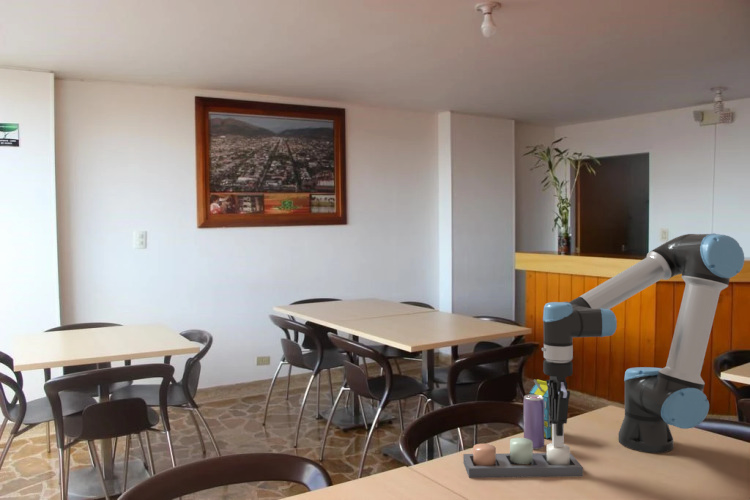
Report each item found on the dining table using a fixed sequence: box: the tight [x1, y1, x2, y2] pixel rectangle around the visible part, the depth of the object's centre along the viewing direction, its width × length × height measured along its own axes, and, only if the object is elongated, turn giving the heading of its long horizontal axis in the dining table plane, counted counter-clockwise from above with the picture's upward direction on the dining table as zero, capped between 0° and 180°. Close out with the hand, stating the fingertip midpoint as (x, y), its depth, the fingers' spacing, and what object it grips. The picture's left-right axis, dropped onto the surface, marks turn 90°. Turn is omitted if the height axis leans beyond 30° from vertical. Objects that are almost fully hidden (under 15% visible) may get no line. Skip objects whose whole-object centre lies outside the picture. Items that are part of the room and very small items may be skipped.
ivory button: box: [546, 442, 571, 465], centre depth 159 cm, size 6×6×5 cm
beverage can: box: [523, 394, 545, 450], centre depth 176 cm, size 6×6×15 cm
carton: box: [528, 379, 552, 441], centre depth 186 cm, size 7×8×18 cm
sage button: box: [509, 437, 534, 465], centre depth 159 cm, size 6×6×5 cm
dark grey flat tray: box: [462, 452, 584, 479], centre depth 159 cm, size 30×10×2 cm, turn 90°
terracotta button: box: [472, 443, 497, 466], centre depth 159 cm, size 6×6×5 cm
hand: (557, 445), depth 159 cm, fingers closed
